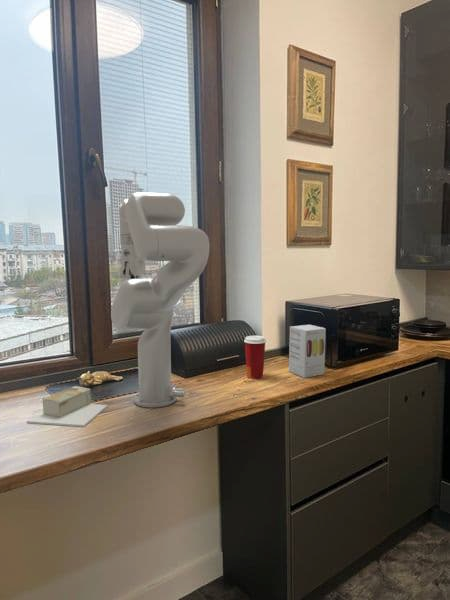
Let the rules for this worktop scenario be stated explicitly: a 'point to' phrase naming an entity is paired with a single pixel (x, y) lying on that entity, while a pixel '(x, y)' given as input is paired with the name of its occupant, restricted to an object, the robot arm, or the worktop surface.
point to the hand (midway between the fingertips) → (133, 296)
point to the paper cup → (255, 356)
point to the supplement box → (307, 350)
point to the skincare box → (66, 401)
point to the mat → (70, 416)
